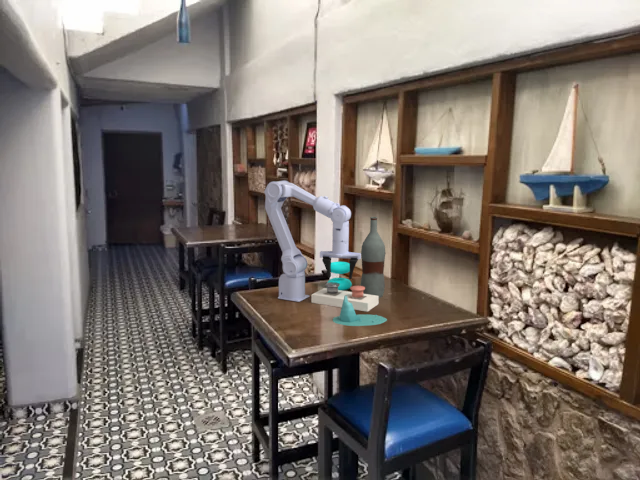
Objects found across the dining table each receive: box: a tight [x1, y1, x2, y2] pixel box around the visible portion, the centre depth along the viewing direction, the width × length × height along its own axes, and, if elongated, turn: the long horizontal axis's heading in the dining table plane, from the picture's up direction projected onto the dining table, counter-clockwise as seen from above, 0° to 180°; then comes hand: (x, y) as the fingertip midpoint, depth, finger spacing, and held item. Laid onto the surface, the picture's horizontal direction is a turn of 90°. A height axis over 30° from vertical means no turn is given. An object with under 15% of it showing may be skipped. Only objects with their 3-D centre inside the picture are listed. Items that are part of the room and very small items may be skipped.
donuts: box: [326, 261, 353, 291], centre depth 194 cm, size 10×10×10 cm
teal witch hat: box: [332, 295, 388, 327], centre depth 156 cm, size 12×20×9 cm, turn 94°
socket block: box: [310, 287, 380, 313], centre depth 174 cm, size 22×10×3 cm, turn 62°
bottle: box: [360, 216, 386, 299], centre depth 181 cm, size 9×9×30 cm
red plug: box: [349, 285, 365, 298], centre depth 171 cm, size 5×5×3 cm
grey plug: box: [325, 282, 340, 294], centre depth 175 cm, size 5×5×3 cm
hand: (339, 277), depth 172 cm, fingers open, 7 cm apart
